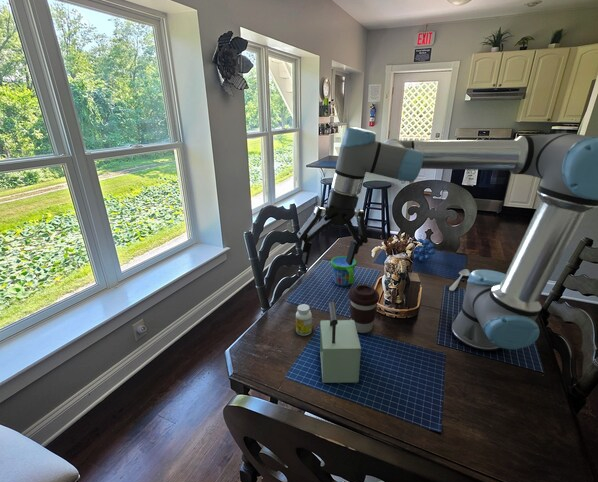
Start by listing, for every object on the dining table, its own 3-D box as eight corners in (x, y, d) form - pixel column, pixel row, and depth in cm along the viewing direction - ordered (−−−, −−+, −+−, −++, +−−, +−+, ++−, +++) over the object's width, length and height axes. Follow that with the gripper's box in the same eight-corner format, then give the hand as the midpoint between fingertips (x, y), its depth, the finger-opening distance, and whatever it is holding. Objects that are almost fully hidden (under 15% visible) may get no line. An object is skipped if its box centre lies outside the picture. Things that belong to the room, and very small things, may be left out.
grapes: (436, 261, 155) (440, 238, 150) (430, 266, 150) (434, 243, 146) (413, 254, 162) (416, 232, 158) (407, 259, 158) (410, 236, 153)
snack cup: (325, 275, 145) (326, 254, 141) (347, 272, 147) (348, 252, 143) (336, 293, 130) (337, 271, 127) (361, 290, 133) (362, 268, 129)
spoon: (471, 273, 144) (472, 270, 143) (456, 292, 130) (456, 289, 129) (461, 270, 146) (462, 267, 146) (445, 289, 132) (446, 285, 131)
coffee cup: (376, 338, 105) (380, 299, 100) (346, 334, 107) (348, 296, 101) (376, 319, 114) (379, 283, 109) (348, 316, 116) (349, 280, 110)
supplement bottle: (314, 333, 108) (314, 309, 104) (300, 338, 106) (299, 314, 102) (307, 324, 113) (307, 301, 109) (293, 328, 110) (292, 305, 107)
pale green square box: (355, 297, 92) (320, 297, 92) (362, 324, 81) (323, 324, 81) (352, 351, 100) (320, 351, 100) (358, 382, 89) (322, 382, 89)
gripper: (380, 190, 89) (360, 256, 98) (295, 181, 81) (281, 254, 90) (394, 200, 83) (371, 270, 92) (303, 191, 75) (288, 268, 84)
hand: (327, 262), depth 91 cm, fingers open, 13 cm apart
